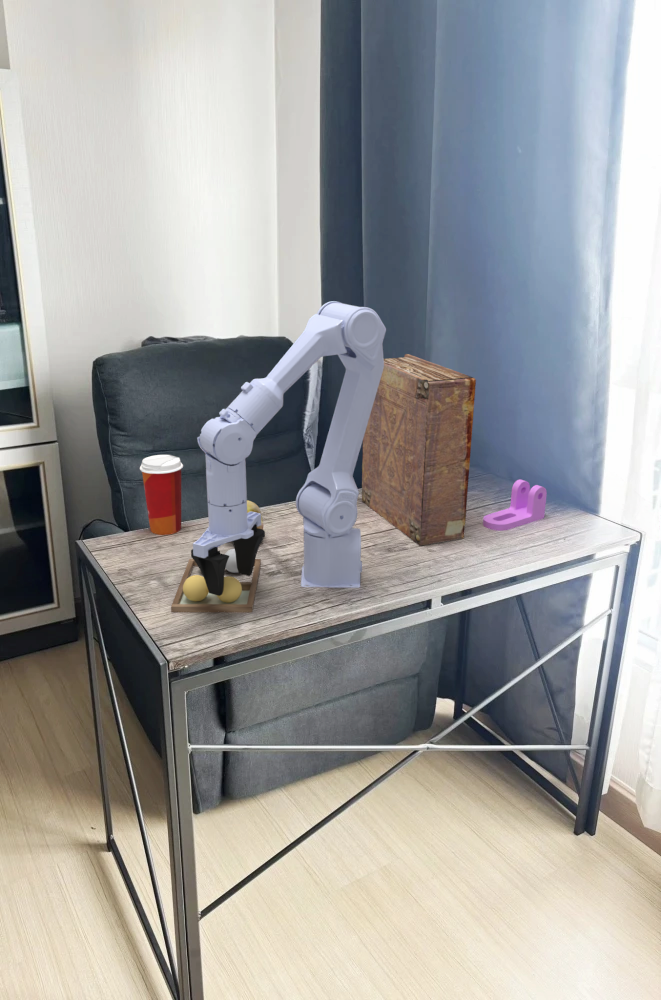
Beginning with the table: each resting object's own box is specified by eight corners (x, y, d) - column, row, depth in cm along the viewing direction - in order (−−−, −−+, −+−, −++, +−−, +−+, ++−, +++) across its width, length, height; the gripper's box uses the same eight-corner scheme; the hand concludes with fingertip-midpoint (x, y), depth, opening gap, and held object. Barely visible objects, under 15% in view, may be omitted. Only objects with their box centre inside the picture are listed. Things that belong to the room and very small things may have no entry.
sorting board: (260, 567, 136) (260, 557, 135) (252, 615, 120) (251, 605, 119) (189, 566, 136) (189, 557, 135) (171, 615, 120) (170, 605, 119)
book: (361, 501, 166) (364, 356, 156) (400, 495, 170) (406, 353, 159) (420, 546, 144) (428, 382, 134) (464, 539, 148) (476, 377, 137)
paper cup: (168, 520, 155) (163, 451, 150) (195, 530, 151) (191, 459, 146) (135, 532, 150) (129, 460, 145) (162, 543, 145) (157, 469, 140)
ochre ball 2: (228, 588, 126) (223, 568, 123) (249, 594, 124) (244, 574, 122) (213, 604, 123) (207, 584, 121) (234, 610, 121) (229, 590, 119)
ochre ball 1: (211, 593, 125) (210, 570, 124) (208, 606, 121) (206, 582, 120) (186, 593, 125) (184, 570, 124) (181, 605, 121) (180, 582, 120)
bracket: (522, 510, 162) (525, 477, 160) (544, 518, 158) (547, 485, 155) (476, 524, 155) (479, 490, 152) (498, 533, 151) (501, 498, 148)
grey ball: (252, 564, 134) (243, 542, 134) (248, 570, 130) (239, 548, 130) (230, 572, 135) (221, 550, 134) (226, 579, 131) (216, 557, 130)
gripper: (219, 521, 110) (223, 609, 115) (277, 490, 122) (278, 571, 126) (179, 511, 113) (184, 598, 118) (238, 482, 125) (241, 561, 130)
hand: (230, 583), depth 122 cm, fingers open, 7 cm apart
